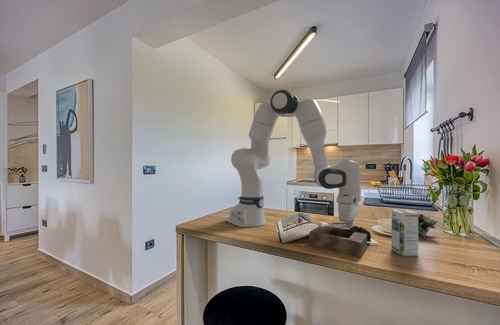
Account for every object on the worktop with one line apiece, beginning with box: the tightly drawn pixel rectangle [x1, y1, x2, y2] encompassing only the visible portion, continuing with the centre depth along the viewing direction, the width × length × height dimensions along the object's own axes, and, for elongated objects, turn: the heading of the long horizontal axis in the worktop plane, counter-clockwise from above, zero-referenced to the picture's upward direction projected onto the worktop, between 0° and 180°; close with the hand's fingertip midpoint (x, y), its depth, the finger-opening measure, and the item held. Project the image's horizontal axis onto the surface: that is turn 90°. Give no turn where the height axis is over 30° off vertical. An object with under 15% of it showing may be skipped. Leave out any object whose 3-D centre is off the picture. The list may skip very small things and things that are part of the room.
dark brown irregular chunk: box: [323, 225, 372, 243], centre depth 89 cm, size 18×7×6 cm, turn 55°
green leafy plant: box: [418, 213, 437, 240], centre depth 91 cm, size 11×11×12 cm
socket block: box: [308, 225, 368, 258], centre depth 81 cm, size 18×10×5 cm, turn 52°
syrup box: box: [391, 208, 419, 257], centre depth 75 cm, size 6×6×14 cm
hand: (349, 227), depth 95 cm, fingers closed
